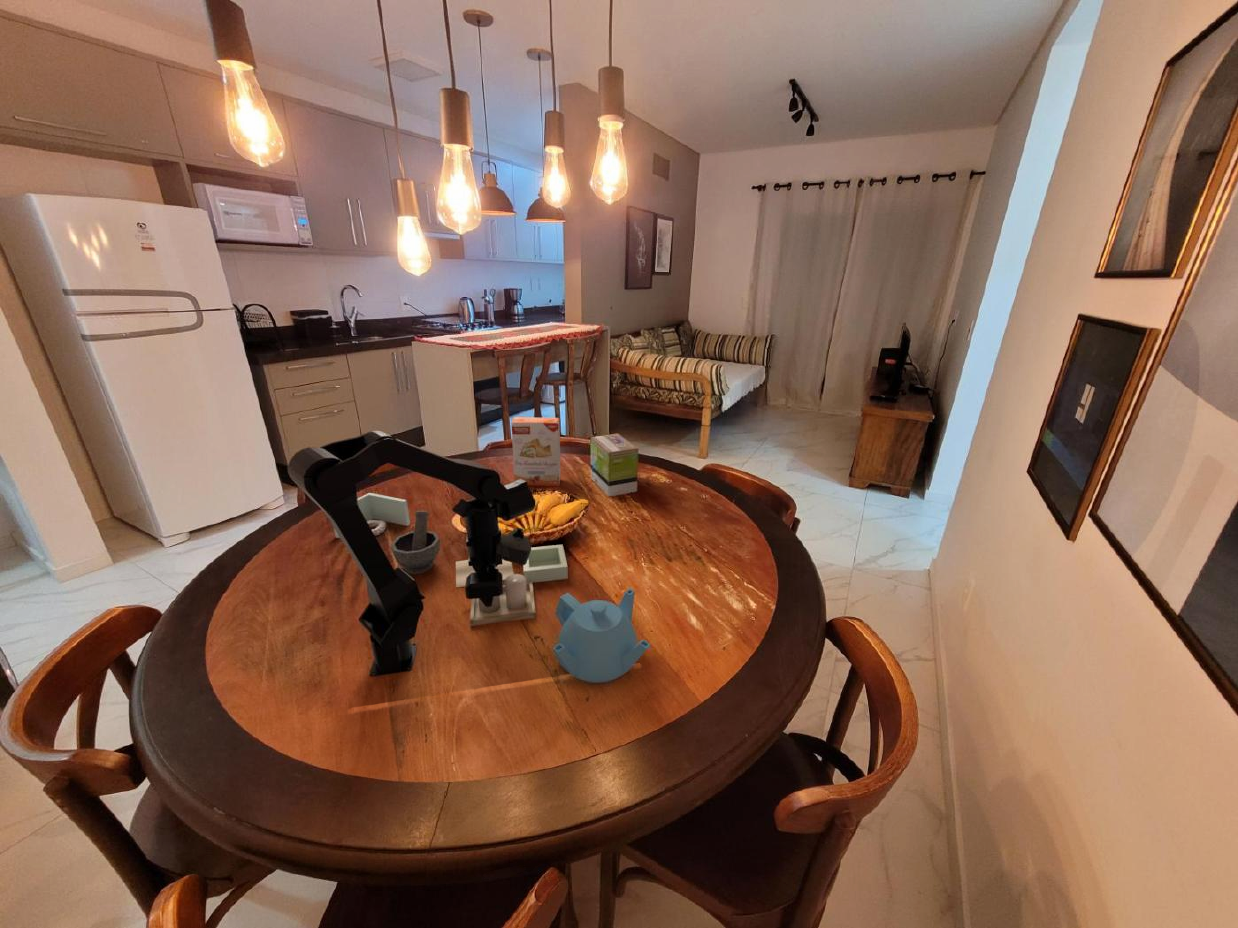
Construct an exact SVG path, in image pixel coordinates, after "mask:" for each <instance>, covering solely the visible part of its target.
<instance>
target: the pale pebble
mask: <svg viewBox="0 0 1238 928" xmlns="http://www.w3.org/2000/svg"><path fill="white" fill-rule="evenodd" d="M504 585H505V592H506V605H507V607H508V608H509V609H512V610H518V609H521V608H523V607H525V606H526V604H527V594H526V578H525V577H524V574H518V573H514V574H513V575H510V576H508V577H507V578H506V579H505V580H504Z"/></svg>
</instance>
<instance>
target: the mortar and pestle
mask: <svg viewBox="0 0 1238 928" xmlns="http://www.w3.org/2000/svg"><path fill="white" fill-rule="evenodd" d="M429 514H430V513H429V512H428V511H427V510H417V511H415V513H414V515H415V523H414V527H413V528H414V530H413V531H409V532H406V533H403V534H401V535H399V536H397V537H395V539H394V540H393V541H392V542H391V543H390V546H391V547H390V548H391V553H392V554H393V556H394V559H395V560H396V563H398V565H400V566H401V567H403V569H404V571H405V572H406V573H407V574H409V575H410V574H411V575H419V574H424V573H426V572H428V571H430V570H431V569H432V568H433V566H434V565H435V563H434V561H435V559H436V558H437V556H438V554H439V553H440V549H441V541H440V540H441V539H440V537H439V535H438V534H437V532H436V531H435V532H434V531H430V530H428V517H429V516H430V515H429Z"/></svg>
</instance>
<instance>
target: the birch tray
mask: <svg viewBox="0 0 1238 928" xmlns="http://www.w3.org/2000/svg"><path fill="white" fill-rule="evenodd" d="M526 594H527V604H526V606H525V607H523V608H521V609H518V610H512V609H509V608H508V607H507V605H506V592H505V584H503V594H502V595H500V608H499V609H498V610H497V611H495V612H492V613H483V612H481V611H480V609H479V601H478V598H477V599H471V602H470V605H471V606H470V615H469V625H470V627H472V626H479V625H480V626H481V625H482V626H483V625H489V624H495V623H496V624H497V623H503V622H504V623H505V622H511V621H520V620H528V619H536V617H537V616H536V605H535V604H536V603H535V595H534V586H533V583H532V582H528V583H526Z"/></svg>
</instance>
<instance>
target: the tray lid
mask: <svg viewBox="0 0 1238 928" xmlns="http://www.w3.org/2000/svg"><path fill="white" fill-rule="evenodd" d="M512 563H513V562H509V561H505V560H503V559H502V564H501V565H498V566H497V567H496V568H495V569H498V570H499V572H500V573H502V576H503V581H504V582H505V579H506V578H507V577H508V576H510V575H513V574H515V573H514V569H513V564H512ZM474 572H475V571H474V569H473V567H472V566H469V564H468V559H465V560H459V561H455V589H459V588H465V586H466V578H467V577H468V576H469V575H470V574H471V573H474Z"/></svg>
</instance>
